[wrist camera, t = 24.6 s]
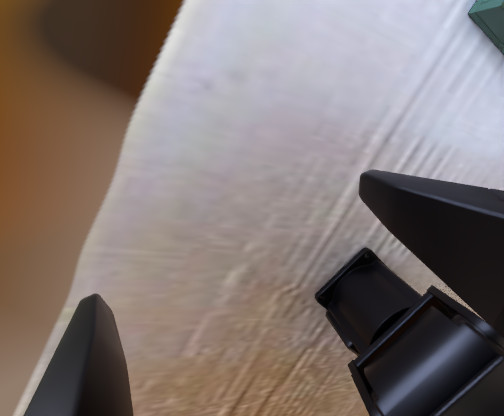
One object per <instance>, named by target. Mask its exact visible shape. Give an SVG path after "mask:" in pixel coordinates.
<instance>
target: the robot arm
mask: <svg viewBox="0 0 504 416" xmlns="http://www.w3.org/2000/svg"><path fill="white" fill-rule="evenodd" d="M359 196H360V198H361V199H362V201H363V202H364V203H365V204H366V205H367V206H368V208H369V209H370V210H371V211H372V212H373V213H374V214H375V216H376V217H377V218H378V219H379V220H380V221H381V223H382V224H383V225H384V226H385V227H386V228H387V229H388V230H389V231H390V232H391V233H392V234H393V235H394V236H395V237H396V238H397V239H398V240H399V241H400V242H401V243H403V244H404V245H405V246H406V247H407V248H408V249H409V250H410V251H411V252H412V253H413V254H414V255H415V256H416V257H417V258H419V259H420V260H421V261H422V262H423V263H424V264H425V265H426V266H427V267H428V268H429V269H430V270H431V271H432V272H433V273H435V274H436V275H437V276H438V277H439V278H440V279H441V280H442V281H443V282H444V283H445V284H446V285H447V286H448V287H449V288H451V289H452V290H453V291H454V292H455V293H456V294H457V295H458V296H459V297H460V298H461V299H462V300H463V301H464V302H465V303H467V304H468V305H469V306H470V307H471V308H472V309H473V310H474V311H475V312H476V313H477V314H478V315H479V316H480V317H481V318H483V319H484V320H485V321H486V322H485V321H484V320H483V319H481V318H480V317H479V316H477V315H476V314H475V313H473V312H472V311H470V310H469V309H467V308H466V307H464V306H463V305H461V304H460V303H458V302H457V301H455V300H454V299H452V298H451V297H449V296H448V295H446V294H445V293H443V292H442V291H440V290H439V289H437V288H436V287H434V286H433V285H432V286H431V287H429V288H428V289H427V292H426V293H425V294H424V295H423V296H421V295H420V294H419V293H417V292H416V291H415V290H414V289H413V288H411V287H410V286H409V285H408V284H407V283H405V282H404V281H403V280H402V279H401V278H399V277H398V276H397V275H396V274H395V273H393V272H392V271H391V270H390V269H389V268H387V266H386V265H385V264H384V263H383V262H382V261H381V260H380V259H379V258H378V257H377V256H376V255H375V254H374V253H373V252H372V251H371V250H370V249H369V248H364V249H362V250H361V251H360V252H359V253H358V254H357V255H356V256H355V257H354V258H353V259H352V260H351V261H350V262H349V263H348V264H347V265H346V266H345V267H343V268H342V269H341V270H340V271H339V272H338V273H337V274H336V275H335V276H334V277H333V278H332V279H331V280H330V281H329V282H328V283H327V284H326V285H325V286H324V287H323V288H322V289H321V290H320V291H318V292H317V294H316V295H315V299H316V300H317V301H318V303H320V304H321V305H322V306H323V307H324V308H326V309H327V310H328V311H327V312H326V317H327V319H328V320H329V321H330V323H331V324H332V326H333V327H334V329H335V330H336V332H337V333H338V335H339V336H340V338H341V339H342V341H343V342H344V344H345V345H346V347H347V348H348V349H349V350H351V351H352V352H353V353H355V354H356V355H357V356H358V357H357V358H356V359H355V360H352V361H351V362H350V363H349V364H348V367H349V369H350V371H351V373H352V375H351V376H352V378H353V380H354V382H355V385H356V387H357V389H358V391H359V393H360V396H361V398H362V400H363V402H364V404H365V406H366V409H367V411H368V413H369V415H370V416H504V191H502V190H496V189H488V188H483V187H477V186H471V185H465V184H459V183H453V182H446V181H440V180H434V179H428V178H422V177H416V176H410V175H404V174H397V173H391V172H385V171H379V170H369V171H366V172H364V173H362V174H361V176H360V183H359ZM366 253H367V255H365V254H366ZM321 296H322V297H321ZM320 297H321V298H320ZM24 416H133V408H132V400H131V393H130V385H129V377H128V370H127V364H126V360H125V356H124V352H123V349H122V345H121V341H120V337H119V333H118V330H117V326H116V322H115V318H114V315H113V313H112V311H111V309H110V308H109V306H108V305H107V304H106V303H105V301H104V300H103V299H102V298H101V296H100V295H98V294H92V295H90V296H88V297H86V298H83V299H82V300H81V301H80V303H79V305H78V307H77V309H76V311H75V313H74V315H73V317H72V319H71V321H70V323H69V325H68V327H67V329H66V331H65V333H64V335H63V337H62V339H61V341H60V343H59V345H58V347H57V349H56V351H55V353H54V355H53V357H52V359H51V361H50V363H49V365H48V367H47V369H46V371H45V374H44V376H43V378H42V380H41V382H40V384H39V386H38V388H37V390H36V392H35V394H34V396H33V398H32V400H31V402H30V404H29V406H28V408H27V410H26V412H25V414H24Z"/></svg>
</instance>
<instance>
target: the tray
mask: <svg viewBox="0 0 504 416" xmlns="http://www.w3.org/2000/svg"><path fill="white" fill-rule="evenodd" d="M468 15H469V16H470V17H471V18H472V19H473V20H474V21H475V23H476V24H477V25H478V26H479V27H480V28H481V29H482V30H483V31H484V33H485V34H486V35H487V36H488V37H489V38H490V39H491V40H492V42H493V43H494V44H495V45H496V46H497V47H498V48H499V49H500V51H501V52H502V53H503V54H504V0H477V1H476V2H475V4H474V5H473V7H472V8H471V10H470V11H469V13H468Z"/></svg>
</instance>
